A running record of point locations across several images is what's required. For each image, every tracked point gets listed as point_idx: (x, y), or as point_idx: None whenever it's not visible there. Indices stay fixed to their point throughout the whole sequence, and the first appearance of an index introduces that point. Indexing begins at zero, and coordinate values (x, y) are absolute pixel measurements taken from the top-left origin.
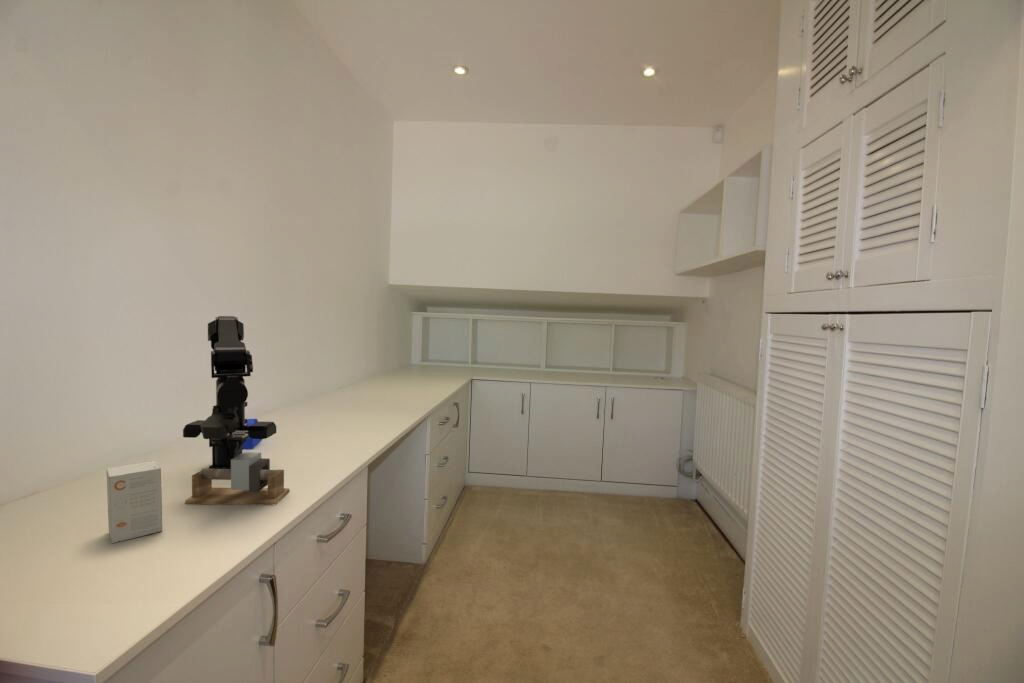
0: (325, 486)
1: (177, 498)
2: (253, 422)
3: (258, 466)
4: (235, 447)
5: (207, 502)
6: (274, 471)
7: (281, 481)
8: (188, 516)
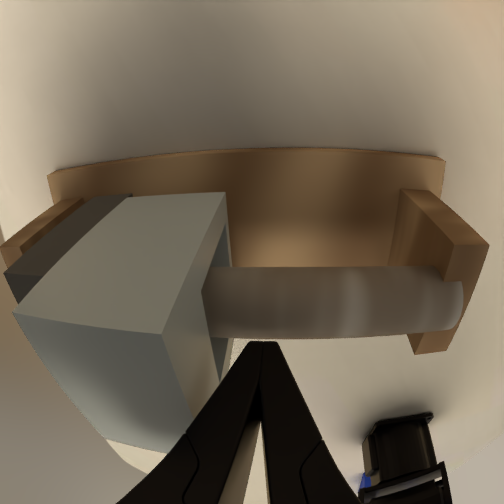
0: None
1: (478, 217)
2: None
3: (9, 281)
4: (139, 489)
5: (343, 149)
6: None
7: None
8: (344, 9)
